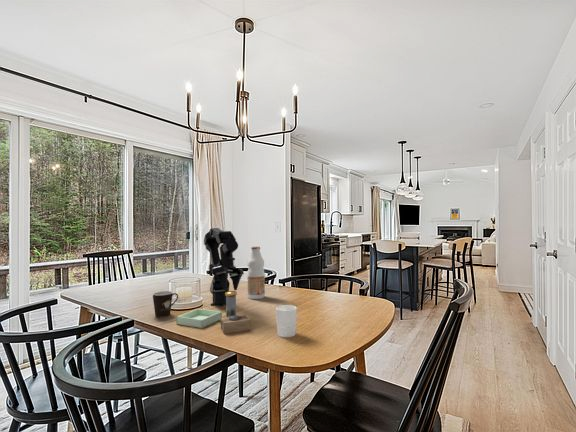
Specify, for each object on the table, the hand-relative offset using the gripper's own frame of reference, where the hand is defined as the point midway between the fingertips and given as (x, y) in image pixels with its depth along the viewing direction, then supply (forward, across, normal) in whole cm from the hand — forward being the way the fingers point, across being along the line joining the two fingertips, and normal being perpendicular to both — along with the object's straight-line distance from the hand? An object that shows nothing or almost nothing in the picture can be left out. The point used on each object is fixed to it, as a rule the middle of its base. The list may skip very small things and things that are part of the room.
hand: (230, 289), depth 151 cm
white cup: (+23, +12, +30) cm, 39 cm away
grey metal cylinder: (+15, +9, +4) cm, 18 cm away
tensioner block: (+17, +14, +9) cm, 24 cm away
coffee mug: (+6, +8, -30) cm, 32 cm away
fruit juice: (+3, -34, -5) cm, 34 cm away
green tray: (+12, +11, -10) cm, 19 cm away
